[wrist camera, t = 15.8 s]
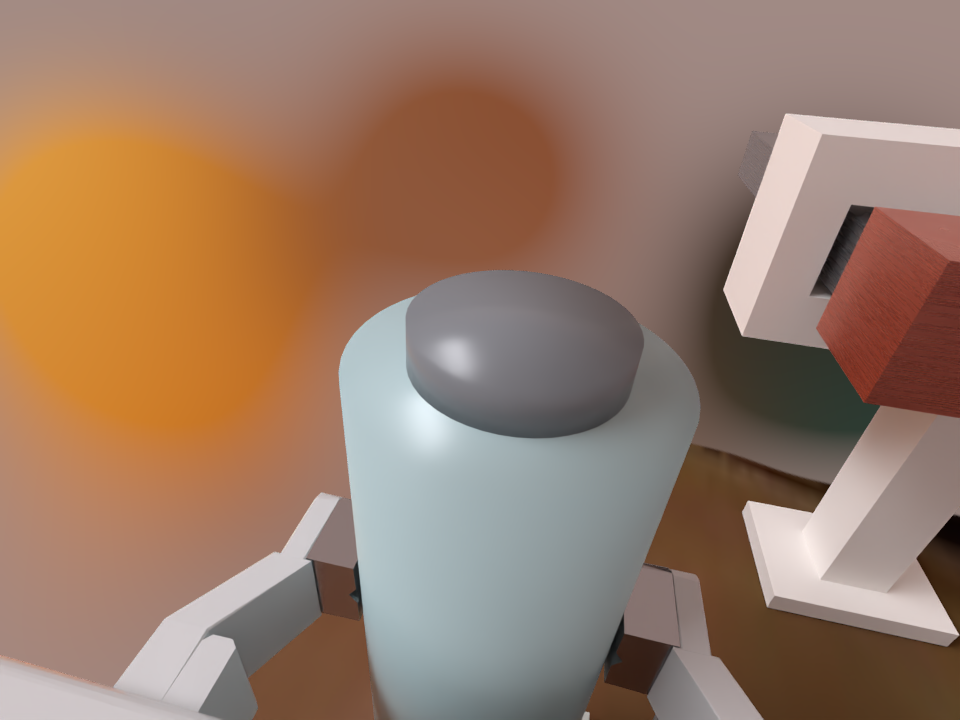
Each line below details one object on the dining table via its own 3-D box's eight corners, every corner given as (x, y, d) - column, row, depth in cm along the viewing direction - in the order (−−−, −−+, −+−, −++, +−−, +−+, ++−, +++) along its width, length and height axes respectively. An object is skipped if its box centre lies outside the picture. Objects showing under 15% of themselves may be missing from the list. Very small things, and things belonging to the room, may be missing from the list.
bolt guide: (891, 541, 29) (1201, 147, 18) (946, 646, 24) (1429, 198, 13) (646, 493, 31) (778, 109, 19) (652, 582, 26) (833, 140, 15)
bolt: (796, 196, 30) (825, 121, 28) (1035, 430, 13) (1160, 286, 11) (724, 188, 31) (747, 114, 29) (864, 402, 14) (949, 260, 11)
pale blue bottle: (564, 673, 16) (690, 273, 9) (548, 890, 12) (759, 494, 5) (412, 635, 17) (406, 232, 9) (349, 829, 13) (251, 395, 5)
